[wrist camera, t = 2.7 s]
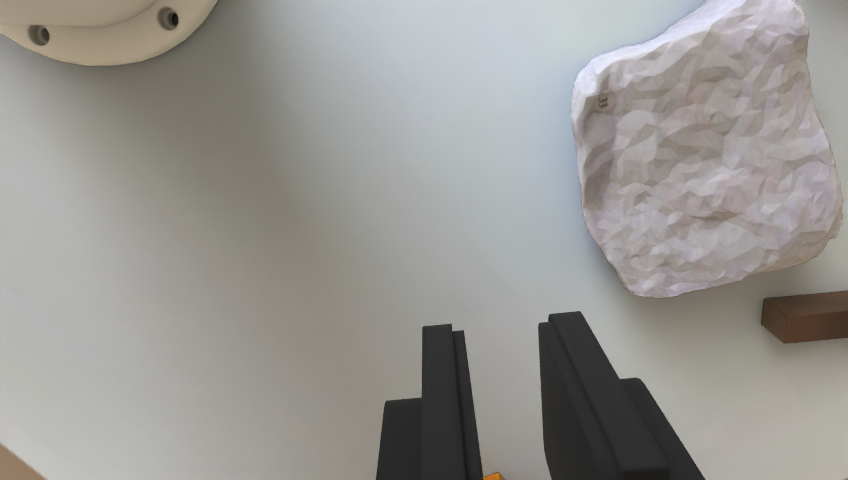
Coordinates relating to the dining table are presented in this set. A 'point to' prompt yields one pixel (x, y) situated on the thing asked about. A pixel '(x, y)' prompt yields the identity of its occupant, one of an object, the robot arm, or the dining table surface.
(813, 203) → the stone block
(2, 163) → the dining table surface
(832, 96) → the dining table surface
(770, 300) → the frame
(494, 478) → the decorative tree
